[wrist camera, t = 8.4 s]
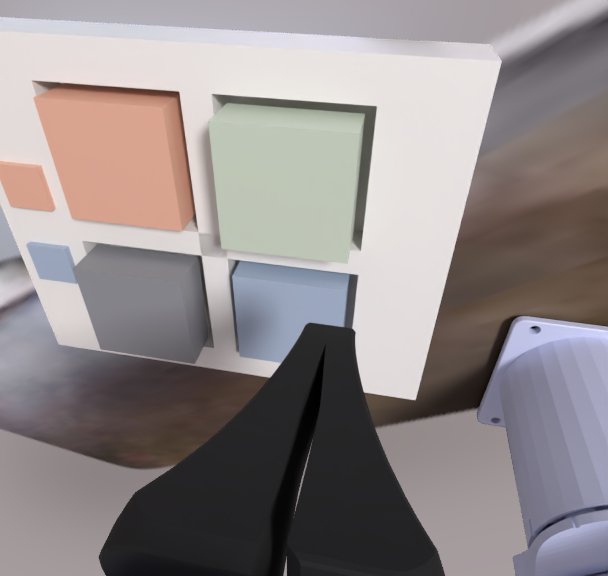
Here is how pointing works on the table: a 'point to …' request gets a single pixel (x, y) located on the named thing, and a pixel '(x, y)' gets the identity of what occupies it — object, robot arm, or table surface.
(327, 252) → the key sage
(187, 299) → the key charcoal
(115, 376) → the table surface
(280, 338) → the key slate
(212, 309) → the keypad
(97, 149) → the key terracotta
